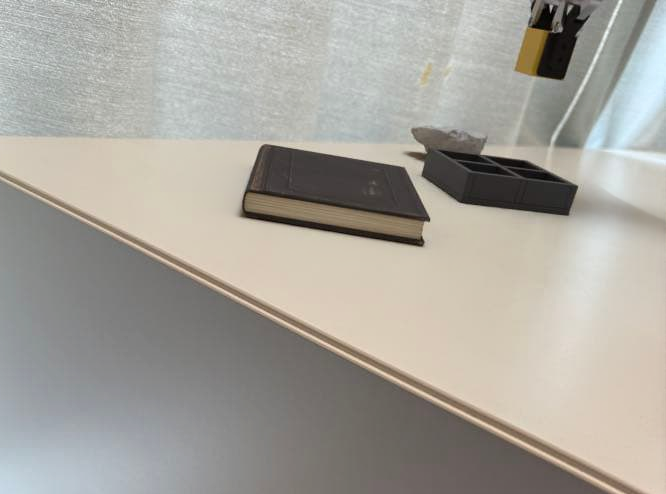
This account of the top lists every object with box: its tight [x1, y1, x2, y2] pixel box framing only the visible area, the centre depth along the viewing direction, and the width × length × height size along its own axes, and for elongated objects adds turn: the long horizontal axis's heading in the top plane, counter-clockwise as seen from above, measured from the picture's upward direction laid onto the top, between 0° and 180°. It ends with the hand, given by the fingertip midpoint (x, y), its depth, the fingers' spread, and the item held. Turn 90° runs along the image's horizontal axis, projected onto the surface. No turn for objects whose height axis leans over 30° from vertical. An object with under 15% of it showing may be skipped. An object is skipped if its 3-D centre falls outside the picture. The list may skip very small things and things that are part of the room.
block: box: [513, 26, 579, 82], centre depth 86 cm, size 4×4×4 cm
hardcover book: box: [241, 143, 431, 246], centre depth 76 cm, size 16×23×2 cm
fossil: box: [410, 125, 488, 155], centre depth 106 cm, size 9×6×10 cm
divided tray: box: [421, 147, 579, 216], centre depth 91 cm, size 13×13×3 cm
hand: (540, 72), depth 87 cm, fingers closed on block, 4 cm apart
